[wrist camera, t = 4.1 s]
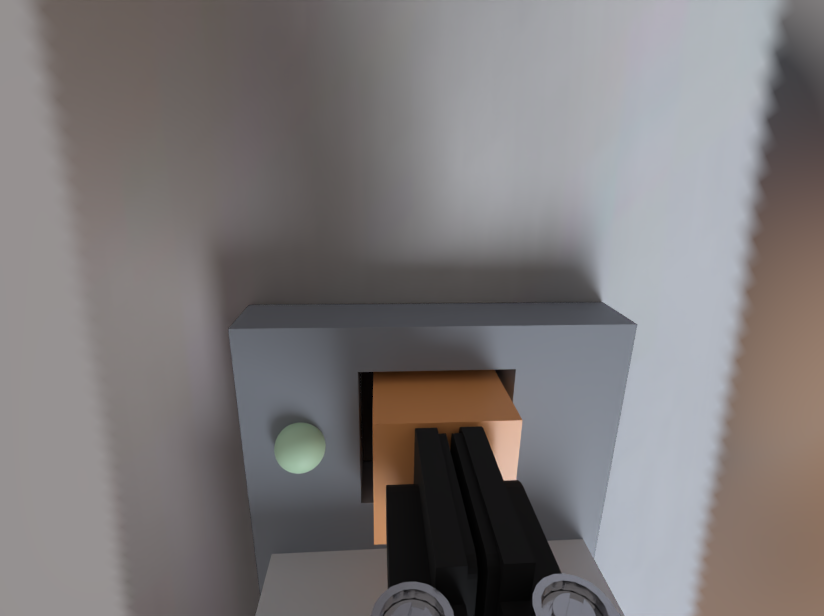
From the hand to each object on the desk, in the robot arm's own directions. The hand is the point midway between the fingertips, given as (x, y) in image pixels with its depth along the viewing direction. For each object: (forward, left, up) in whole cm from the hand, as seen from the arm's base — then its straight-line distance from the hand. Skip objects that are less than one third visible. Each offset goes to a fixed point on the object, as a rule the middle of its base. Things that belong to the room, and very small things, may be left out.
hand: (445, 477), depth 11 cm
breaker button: (0, 0, -3) cm, 3 cm away
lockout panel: (-4, +4, -4) cm, 7 cm away
